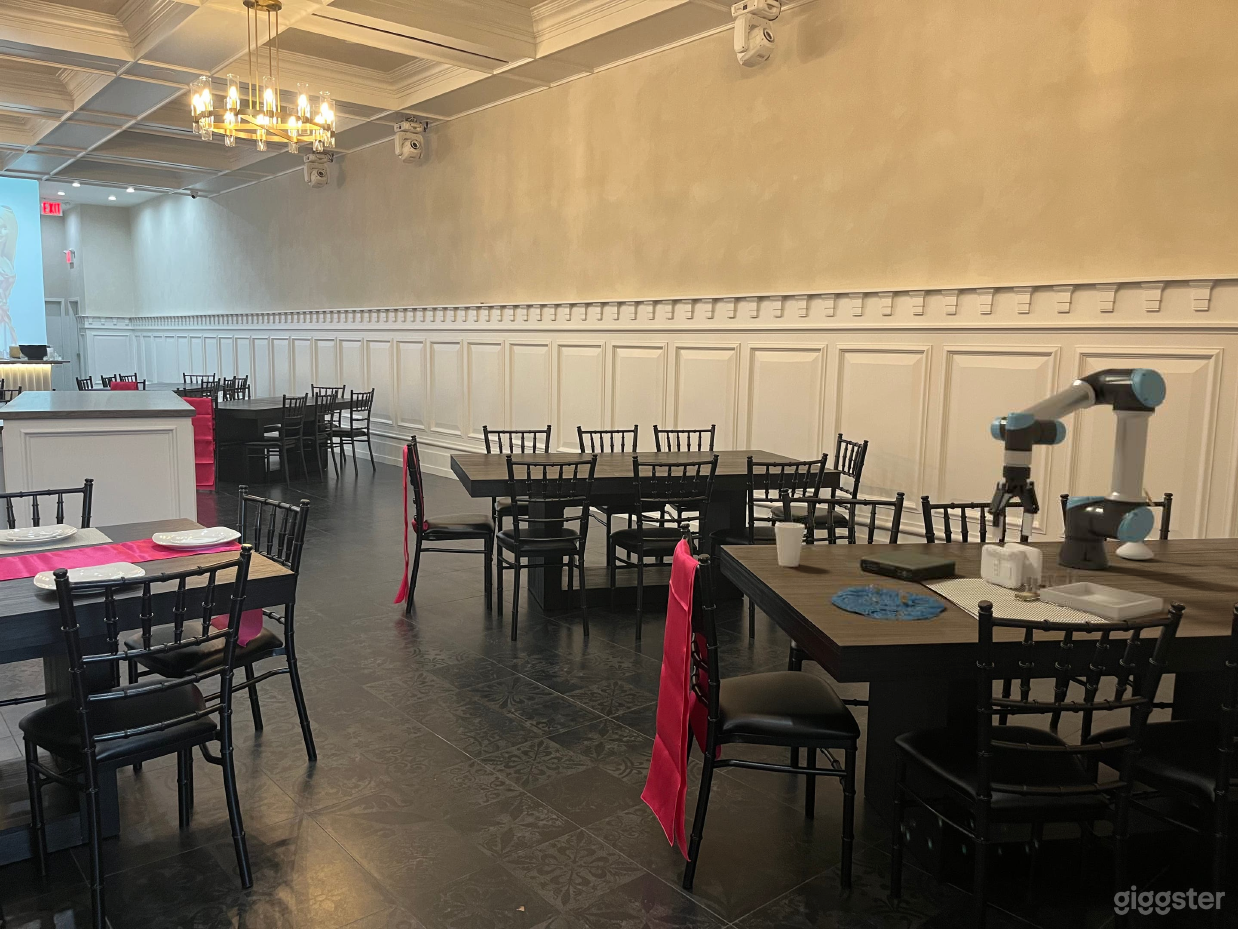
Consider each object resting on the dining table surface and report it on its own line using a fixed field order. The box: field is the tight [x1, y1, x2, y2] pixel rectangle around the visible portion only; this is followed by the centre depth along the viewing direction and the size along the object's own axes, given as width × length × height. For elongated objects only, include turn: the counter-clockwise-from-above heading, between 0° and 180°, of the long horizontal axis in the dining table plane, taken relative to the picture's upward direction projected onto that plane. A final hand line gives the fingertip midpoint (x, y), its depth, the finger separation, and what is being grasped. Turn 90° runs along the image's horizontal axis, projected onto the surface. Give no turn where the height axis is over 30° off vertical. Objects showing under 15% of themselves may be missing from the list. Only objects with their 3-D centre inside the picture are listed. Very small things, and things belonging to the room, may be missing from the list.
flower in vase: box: [1115, 486, 1156, 561], centre depth 312 cm, size 13×11×25 cm
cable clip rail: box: [1014, 569, 1079, 600], centre depth 258 cm, size 28×3×6 cm, turn 120°
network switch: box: [859, 549, 957, 583], centre depth 285 cm, size 23×23×5 cm
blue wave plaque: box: [829, 583, 946, 621], centre depth 244 cm, size 30×30×5 cm
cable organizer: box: [980, 542, 1043, 589], centre depth 270 cm, size 15×11×12 cm
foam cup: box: [774, 522, 806, 568], centre depth 294 cm, size 10×9×13 cm
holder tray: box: [1039, 581, 1164, 622], centre depth 246 cm, size 20×22×4 cm
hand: (1012, 536), depth 269 cm, fingers open, 13 cm apart
